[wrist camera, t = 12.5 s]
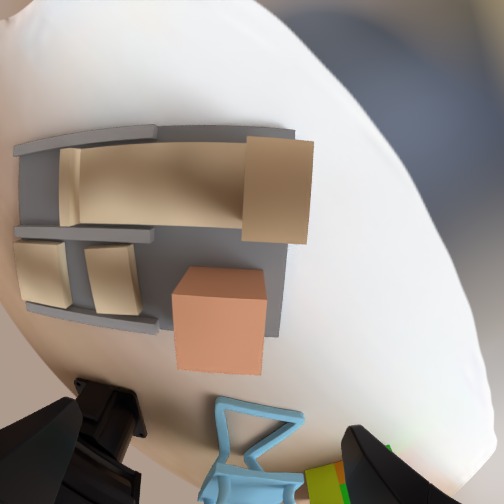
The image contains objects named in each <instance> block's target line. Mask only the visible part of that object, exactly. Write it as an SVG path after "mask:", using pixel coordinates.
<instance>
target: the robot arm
mask: <svg viewBox="0 0 504 504" xmlns="http://www.w3.org/2000/svg"><path fill="white" fill-rule="evenodd" d="M74 384H75V386H76V389H77V392H78V394H79V395H78V396H77V398H76V399H72V398H69V397H63V398H61V399H59V400H57V401H55V402H54V403H52V404H50V405H48V406H46V407H44V408H42V409H40V410H38V411H36V412H34V413H32V414H31V415H28V416H27V417H24V418H23V419H21V420H19V421H17V422H15V423H13V424H11V425H9V426H6V427H5V428H2V429H0V504H139V497H140V484H141V473H139V472H137V471H134V470H132V469H130V468H128V467H127V466H125V465H123V464H122V461H123V458H124V456H125V453H126V451H127V448H128V446H129V443H130V441H131V438H132V436H136V437H141V438H146V436H147V431H146V428H145V424H144V421H143V417H142V414H141V410H140V406H139V402H138V399H137V395H136V393H135V392H133V391H131V390H126V389H121V388H117V387H112V386H108V385H104V384H100V383H96V382H92V381H88V380H84V379H81V378H76V379H75V381H74ZM341 450H342V458H343V466H344V475H345V483H346V487H347V492H348V496H349V500H350V504H461V503H459V502H458V501H456V500H454V499H453V498H451V497H449V496H448V495H446V494H445V493H443V492H442V491H441V490H439V489H438V488H437V487H435V486H434V485H433V484H431V483H430V484H429V481H427V480H426V479H425V478H424V477H422V476H421V475H420V474H419V473H417V472H416V471H415V470H414V469H412V468H411V467H410V466H409V465H407V464H406V463H405V462H404V461H403V460H401V459H400V458H399V457H398V456H397V455H395V454H394V453H393V452H392V451H391V450H390V449H388V448H387V447H386V446H385V445H384V444H382V443H381V442H380V441H379V440H378V439H377V438H376V437H374V436H373V435H372V434H371V433H370V432H369V431H368V430H366V429H365V428H364V427H363V426H362V425H351V426H349V427H348V428H347V429H346V432H345V434H344V436H343V439H342V441H341Z"/></svg>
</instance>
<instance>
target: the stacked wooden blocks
mask: <svg viewBox="0 0 504 504" xmlns="http://www.w3.org/2000/svg"><path fill="white" fill-rule="evenodd" d="M313 150H314V142H312V141H304V140H294V139H283V138H270V137H254V136H247V143H226V142H168V143H144V144H128V145H115V146H104V147H94V148H85V149H76V148H65V149H60V163H59V217H60V226H69V227H70V226H73V225H76V224H79V223H98V224H139V225H169V226H195V227H218V228H238V229H242V238H241V241H253V242H272V243H290V244H306V243H307V233H308V222H309V210H310V197H311V184H312V168H313Z"/></svg>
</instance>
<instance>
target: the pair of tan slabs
mask: <svg viewBox="0 0 504 504" xmlns="http://www.w3.org/2000/svg"><path fill="white" fill-rule="evenodd" d="M13 249H14V257H15V264H16V270H17V276H18V282H19V287H20V292H21V297H22V300H27V301H31V302H36V303H40V304H45V305H50V306H55V307H60V308H65V309H66V308H67V307H69V306H70V305H71V304H72V303H73V302H72V296H71V290H70V283H69V277H68V269H67V261H66V251H65V242H55V241H35V240H19V241H16V242H13ZM84 251H85V258H86V264H87V269H88V275H89V280H90V285H91V290H92V294H93V299H94V303H95V308H96V312H97V313H102V314H120V315H139V314H140V312H141V311H142V310H143V304H142V299H141V293H140V287H139V281H138V274H137V268H136V260H135V253H134V245H133V244H113V245H94V246H90V247H88V248H86V249H84Z"/></svg>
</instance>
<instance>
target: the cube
mask: <svg viewBox="0 0 504 504" xmlns="http://www.w3.org/2000/svg"><path fill="white" fill-rule="evenodd" d="M266 308H267V295H266V288H265V280H264V273H263V270H250V269H230V268H211V267H193V266H190V267H189V269H188V270H187V272H186V273H185V275H184V276H183V278H182V279H181V281H180V282H179V284H178V285H177V287H176V288H175V290H174V291H173V293H172V309H173V324H174V337H175V348H176V359H177V368H178V369H180V370H189V371H199V372H211V373H224V374H242V375H261V367H262V356H263V344H264V333H265V321H266Z"/></svg>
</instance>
